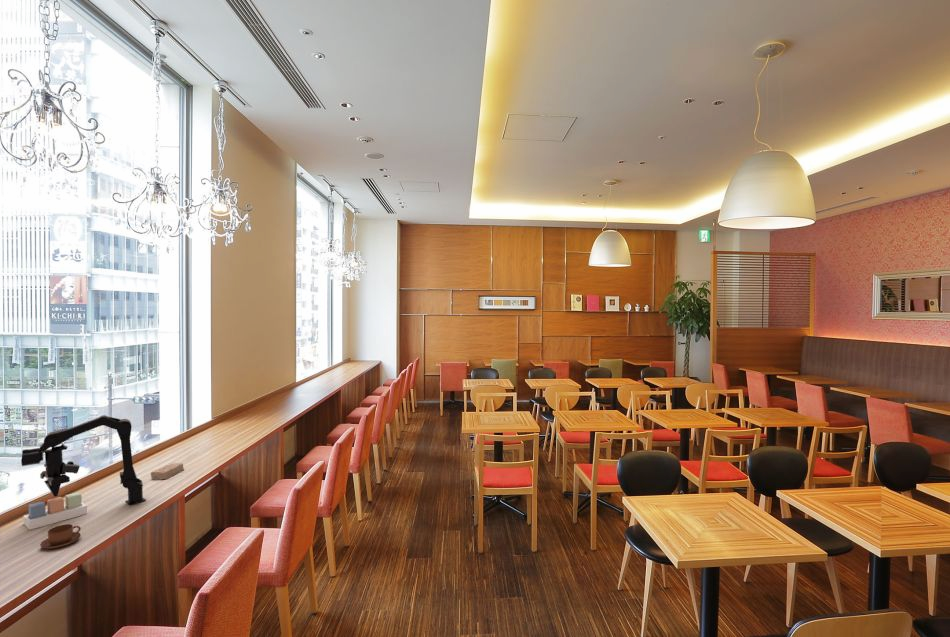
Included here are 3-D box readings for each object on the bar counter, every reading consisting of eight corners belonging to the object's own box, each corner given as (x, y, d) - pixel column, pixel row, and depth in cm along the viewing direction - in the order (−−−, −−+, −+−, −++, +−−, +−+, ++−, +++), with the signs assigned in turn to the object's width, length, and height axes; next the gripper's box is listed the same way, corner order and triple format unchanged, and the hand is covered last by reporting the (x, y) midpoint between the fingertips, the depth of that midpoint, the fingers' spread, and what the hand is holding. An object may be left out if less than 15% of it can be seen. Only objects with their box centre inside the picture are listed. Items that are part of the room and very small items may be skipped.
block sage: (81, 507, 216) (81, 494, 216) (68, 511, 213) (68, 497, 212) (78, 505, 219) (78, 492, 219) (65, 508, 215) (65, 495, 215)
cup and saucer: (67, 535, 195) (66, 520, 195) (88, 538, 191) (87, 523, 191) (32, 549, 183) (31, 533, 183) (54, 553, 180) (53, 537, 180)
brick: (169, 470, 274) (169, 462, 274) (184, 469, 274) (184, 461, 274) (150, 480, 258) (149, 472, 258) (165, 480, 258) (165, 471, 258)
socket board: (87, 513, 216) (86, 505, 216) (29, 529, 200) (29, 521, 200) (80, 508, 222) (80, 500, 222) (23, 523, 206) (23, 515, 206)
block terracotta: (64, 512, 211) (63, 498, 211) (50, 516, 208) (50, 502, 207) (61, 509, 214) (60, 496, 214) (47, 513, 210) (47, 500, 210)
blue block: (45, 517, 206) (45, 503, 206) (31, 521, 203) (30, 507, 203) (42, 514, 209) (42, 501, 209) (28, 518, 205) (28, 504, 205)
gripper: (83, 459, 211) (85, 494, 212) (71, 452, 222) (72, 486, 223) (50, 466, 202) (52, 503, 203) (39, 459, 214) (40, 494, 214)
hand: (55, 496), depth 211 cm, fingers closed
